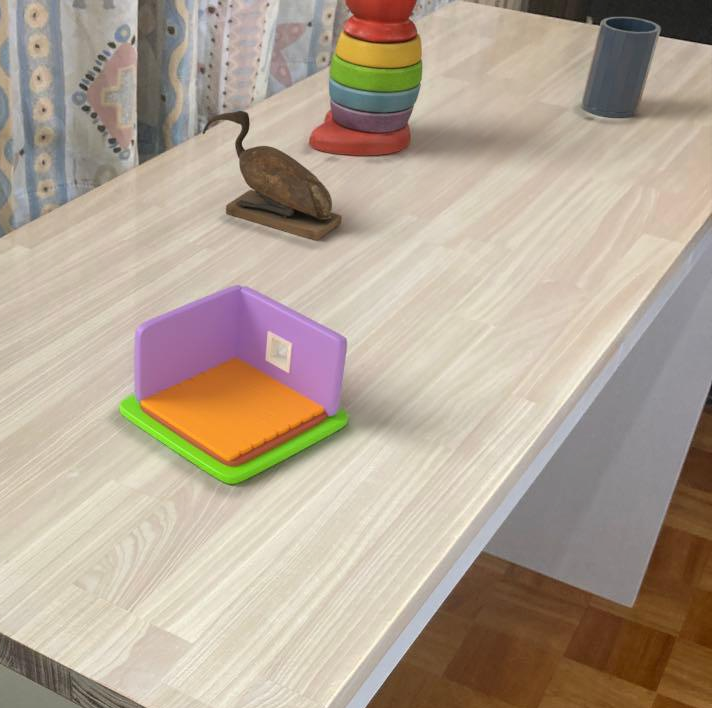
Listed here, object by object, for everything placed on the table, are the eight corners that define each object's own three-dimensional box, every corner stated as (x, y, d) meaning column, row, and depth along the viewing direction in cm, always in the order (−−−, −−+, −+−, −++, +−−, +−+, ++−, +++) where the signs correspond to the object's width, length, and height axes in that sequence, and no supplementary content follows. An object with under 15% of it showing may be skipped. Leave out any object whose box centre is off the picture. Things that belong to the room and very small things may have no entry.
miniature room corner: (235, 354, 86) (240, 271, 81) (355, 422, 79) (368, 335, 75) (111, 410, 79) (110, 323, 75) (230, 490, 73) (236, 399, 68)
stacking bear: (329, 115, 126) (349, -63, 114) (420, 129, 123) (449, -52, 112) (304, 149, 118) (321, -38, 107) (400, 164, 115) (429, -26, 104)
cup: (647, 116, 128) (671, 32, 122) (595, 119, 127) (617, 33, 121) (621, 98, 132) (643, 15, 127) (571, 100, 131) (591, 17, 126)
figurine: (187, 202, 107) (190, 109, 102) (212, 187, 110) (217, 95, 104) (317, 241, 101) (328, 144, 96) (341, 224, 104) (353, 129, 98)
